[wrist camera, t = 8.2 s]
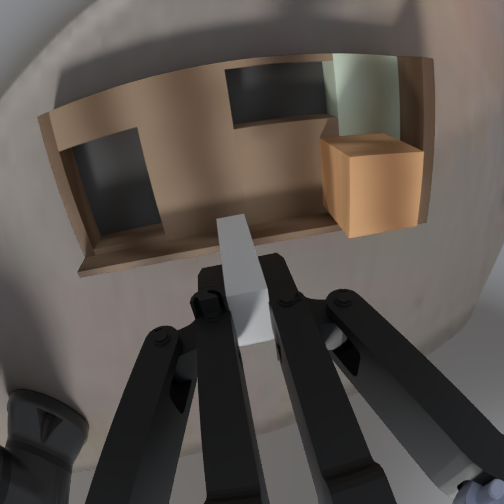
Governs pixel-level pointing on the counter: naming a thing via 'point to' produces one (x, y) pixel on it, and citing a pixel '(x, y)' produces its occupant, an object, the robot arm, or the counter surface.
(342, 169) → the block
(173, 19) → the counter surface
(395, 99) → the tray
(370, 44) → the counter surface
